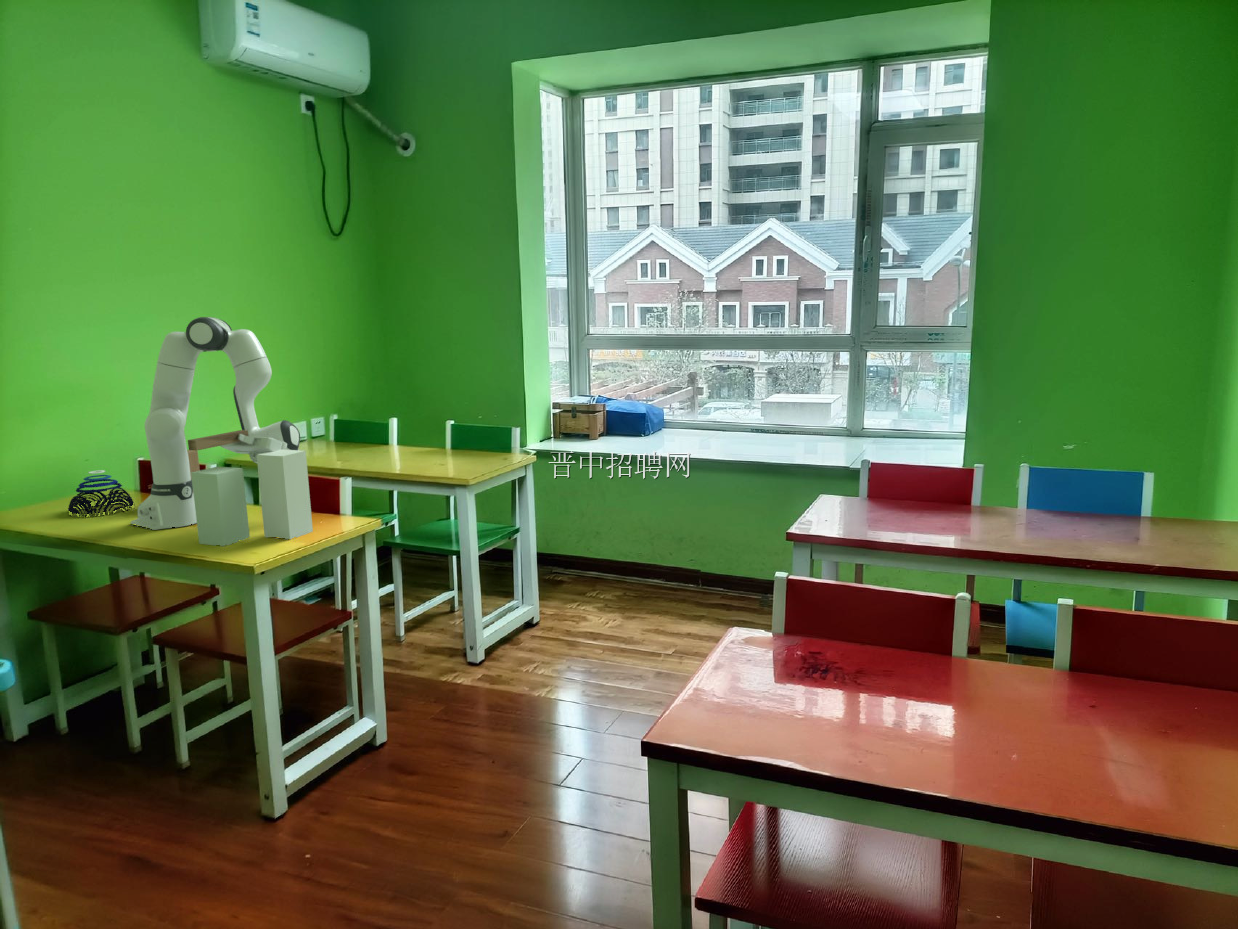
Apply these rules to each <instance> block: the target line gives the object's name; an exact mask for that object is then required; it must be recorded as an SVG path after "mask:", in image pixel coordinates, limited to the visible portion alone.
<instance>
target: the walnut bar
mask: <svg viewBox="0 0 1238 929" xmlns="http://www.w3.org/2000/svg"><path fill="white" fill-rule="evenodd" d="M237 434H243V435H245V436H248V430H242V429H240V430H235V431H228V432H224V433H218V434H213V435H208V436H203V437H197V438H196V437H195V438H192V439H187V445H188V450H194V451H202V450H206V449H207V450H208V449H211V448H215V447H216V448H217V447H221V446H222V445H226V444H231V443H236V442H241V441H239V440H237V439H236V437H237Z"/></svg>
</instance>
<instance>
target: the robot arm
mask: <svg viewBox="0 0 1238 929" xmlns="http://www.w3.org/2000/svg"><path fill="white" fill-rule="evenodd" d="M219 351H221V352H224V353H225V354H226V356H227V357H228V359H229V361H230V364H231V366H232V369H233V371H234V374H235V375H234V376H235V385H234V386H233V390H232V392H233V400H234V404H235V407H236V408H235V409H236V412H237V416H238V419H239V424H240V428H241V430H248V436H245V435H243V434H237V437H236V439H237V440H239V441H241V442H236V443H231V444H226V445H222V446H220V447H221V449H222V448H223V449H225V450H228V451H230V452H231V453H232V452H233V453H235V454H241V455H242V454H243V455H244V454H245V455H248V456H249V459H250V460H251V461H252V462H253V463H255V464H257V455H258V454H262V453H267V452H274V451H278V450H300V448H299V447H300V443H301V434H300V430H299V429H298V427H296V425H295V424H294V423H293V422H291V421H289V420H285V419H283V420H281V421H277V422H274V423H271V424H270V425H267V426H263V427H260V425H259V421H258V418H257V414H256V410H255V400H256V398H257V396H258V394H259V393H260V392H261V391H263V389H264V388H265V387H267V385H268V383H270V381H271V379H272V375H273V370H272V366H271V364H270V361H269V359H268V357H267V353H266V352H265V350H264V348H263V346H262V344H261V342H260V341H259V339H258V338H257V336H256V334H255V333H254V332H253V331H252V330H249V329H246V328H240V329H236V330H233V329H232V327H231V326H230V324H228V323H227V322H226V321H225V320H223V319H219V318H217V317H215V316H214V317H213V316H200V317H197V318H194V319H193V320H191V321H190V322H189V323H188V325H187V327H186V330H185V332H184V331H171V332H169V333H167V334H166V335H165V337H164V339H163V341H162V344H161V347H160V349H159V354H158V357H157V363H156V368H155V373H154V380H153V384H152V391H151V401H150V406H149V411H148V412H149V413H148V415H147V416H146V418H145V420H144V430H145V437H146V444H147V450H148V453H149V458H150V465H151V473H152V481H153V483H152V484H149V485H147V487H148V489H151V490H150V495H149V496H148V497H147V498H146V499H144V501H142V502H141V503H140V504H139V505H138V507H137V518H135V519H133V520H131V521H130V523H131V524H136V525H139V526H142V527H147V528H150V529H149V530H151V529H152V530H151V531H153V530H155V531H157V530H162V529H171V528H172V527H175V528H180V527H181V528H182V527H187V526H191V524H192V525H195V524H197V520H196V511H195V502H194V494H193V485H192V479H191V475H190V466H189V457H188V452H187V450H188V447H187V439H186V434H185V427H186V422H187V418H188V412H189V407H190V406H189V405H190V399H191V394H192V388H193V382H194V376H195V371H196V366H197V360H198V358H199V356H200V354H201V353H202V352H204V353H205V352H212V353H214V352H219ZM130 523H129V524H130ZM142 527H141V528H142ZM147 528H146V529H147Z"/></svg>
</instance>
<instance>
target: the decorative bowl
mask: <svg viewBox="0 0 1238 929" xmlns="http://www.w3.org/2000/svg"><path fill="white" fill-rule="evenodd" d="M105 472H106V470H101V469H100V470H92V471H88V474H91V475H90V476H86V477H84V478H83V480H84V481H83V482H81V483H79V485H78V487H77V488H76V489H75V492H77V494H76V495H75V496H73V497H72V498H71V500H70V501H69V504H68V508H67V511H70V512H72V513H73V514H75V513H76V514H77V513H78V514H80V515H81V514H83V515H84V514H89V515H91V514H92V515H93V513H94V514H95V513H96V514H98V513H100V514H101V511H102V512H106V513H107V512H108V511H110V512H111V511H112V512H113V511H115V510H117V511H118V510H120V508H124V509H125V507H127V506H132V505H133V503H134V504H135V502H134V500H133V498H132V496H131V494H130V493H129V492H128V491H127V490H126V489H124V488H122V487H123V484H121V483H119V481H118V480H117V479H114V478H112V475H110V474H109V475H108V474H102V473H105ZM92 474H94V475H92ZM97 474H98V475H97ZM111 478H112V479H111ZM98 482H99V483H98ZM90 483H93V484H90ZM108 486H111V487H108ZM101 487H106V488H101ZM85 488H91V489H85ZM92 488H98V489H92ZM99 488H101V489H99ZM107 491H109V492H108V493H107V494H104V493H103V492H107ZM102 500H103V502H102V503H101V501H102ZM113 500H114V501H113ZM124 500H126V501H127V502H125V501H124ZM95 501H97V503H95V504H94V505H95V506H94V507H91V504H90V503H91V502H95ZM107 501H108V502H107ZM106 502H107V505H104V504H105V503H106ZM115 502H118V503H115ZM120 502H122V503H120ZM84 503H85V504H84ZM100 503H101V504H100ZM111 503H115V504H113V505H111ZM124 503H125V504H126V505H125V504H124ZM128 504H129V505H128ZM78 505H79V506H80V507H81V508H82V509H80V508H79V507H78ZM81 505H82V506H83V507H82V506H81ZM99 505H100V506H99ZM118 505H120V506H118ZM103 506H104V507H103ZM114 506H116V507H114ZM73 507H76V508H73ZM98 507H99V508H98ZM83 508H85V509H83ZM97 508H98V509H97ZM127 508H128V507H127ZM77 509H79V510H77ZM107 509H108V510H107ZM112 509H113V510H112Z"/></svg>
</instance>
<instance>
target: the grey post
mask: <svg viewBox="0 0 1238 929" xmlns="http://www.w3.org/2000/svg"><path fill="white" fill-rule="evenodd" d="M256 465H257V473H258V482H259V483H258V484H259V493H260V502H261V514H262V525H263V534H264V538H268V537H279V538H285V539H284V540H288V539H291V540H293V539H292V538H294V537H296V538H299V537H302V536H305V535H307V534H309V533H313V532H314V530H313V519H312V518H313V517H312V508H311V507H312V506H311V505H312V504H311V498H310V497H311V494H310V485H309V484H310V482H309V473H308V460H307V452H306V450H300V449H299V450H278V451H274V452H267V453H262V454H258V455H257V463H256ZM294 539H295V538H294Z"/></svg>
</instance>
